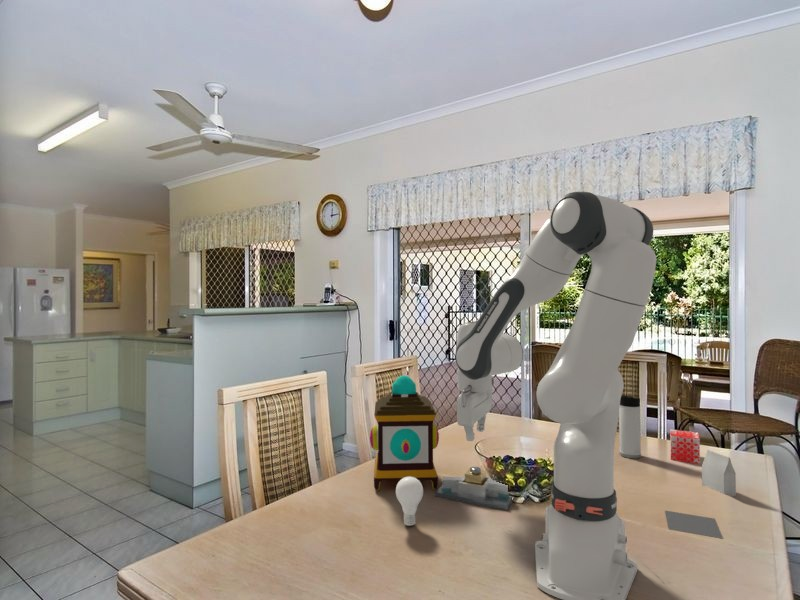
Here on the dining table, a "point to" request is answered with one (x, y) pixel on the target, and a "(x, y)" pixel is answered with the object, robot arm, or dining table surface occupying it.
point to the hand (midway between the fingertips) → (475, 435)
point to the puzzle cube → (685, 446)
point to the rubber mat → (693, 524)
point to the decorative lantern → (404, 435)
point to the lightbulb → (409, 497)
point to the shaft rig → (475, 492)
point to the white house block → (719, 473)
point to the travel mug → (629, 427)
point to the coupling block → (475, 476)
